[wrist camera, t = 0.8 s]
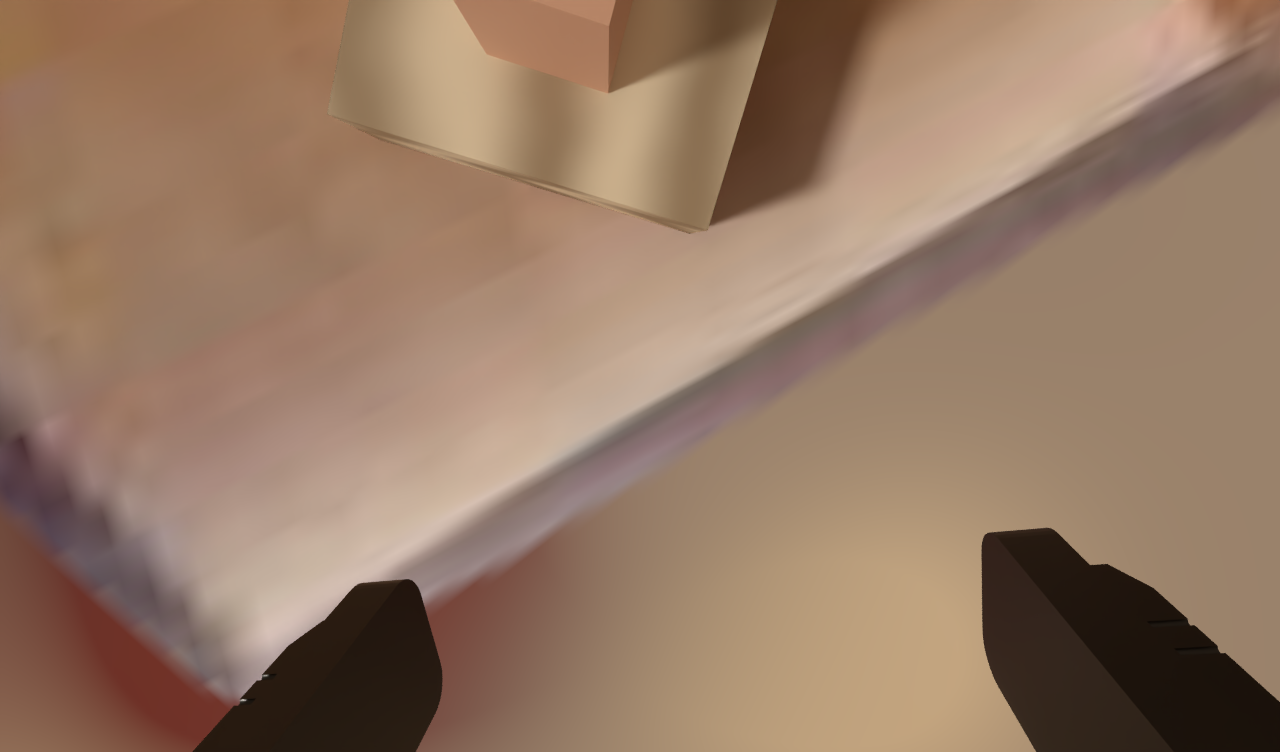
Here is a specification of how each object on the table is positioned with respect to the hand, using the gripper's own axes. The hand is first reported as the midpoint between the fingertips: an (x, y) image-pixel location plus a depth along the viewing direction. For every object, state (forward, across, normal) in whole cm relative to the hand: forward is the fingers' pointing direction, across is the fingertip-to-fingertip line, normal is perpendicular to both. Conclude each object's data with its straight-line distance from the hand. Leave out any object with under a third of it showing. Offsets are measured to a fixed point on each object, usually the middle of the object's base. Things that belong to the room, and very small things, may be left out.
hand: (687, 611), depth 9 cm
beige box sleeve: (+26, +5, -12) cm, 29 cm away
